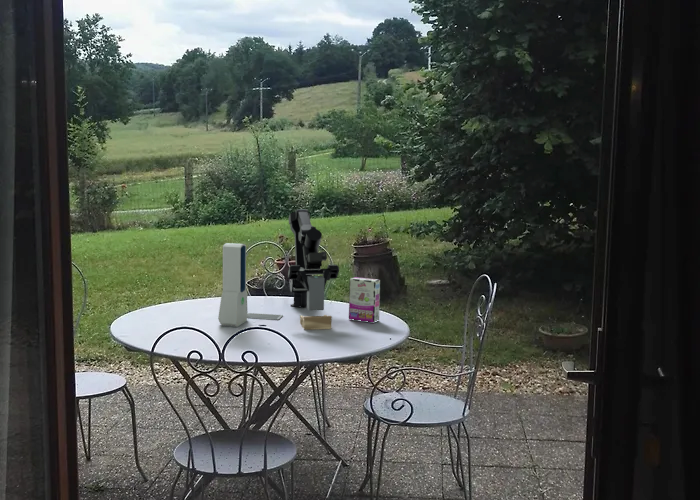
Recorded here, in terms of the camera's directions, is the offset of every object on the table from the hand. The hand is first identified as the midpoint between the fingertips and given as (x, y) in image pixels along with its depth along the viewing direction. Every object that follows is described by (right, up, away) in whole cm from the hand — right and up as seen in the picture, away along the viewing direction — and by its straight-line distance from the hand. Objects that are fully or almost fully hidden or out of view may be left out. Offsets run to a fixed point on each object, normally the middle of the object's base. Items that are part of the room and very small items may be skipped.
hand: (316, 290), depth 277 cm
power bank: (0, -7, +2) cm, 7 cm away
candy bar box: (+18, -12, +13) cm, 25 cm away
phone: (-21, -12, +14) cm, 28 cm away
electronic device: (-31, -12, +3) cm, 34 cm away
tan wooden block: (0, -13, +2) cm, 13 cm away
